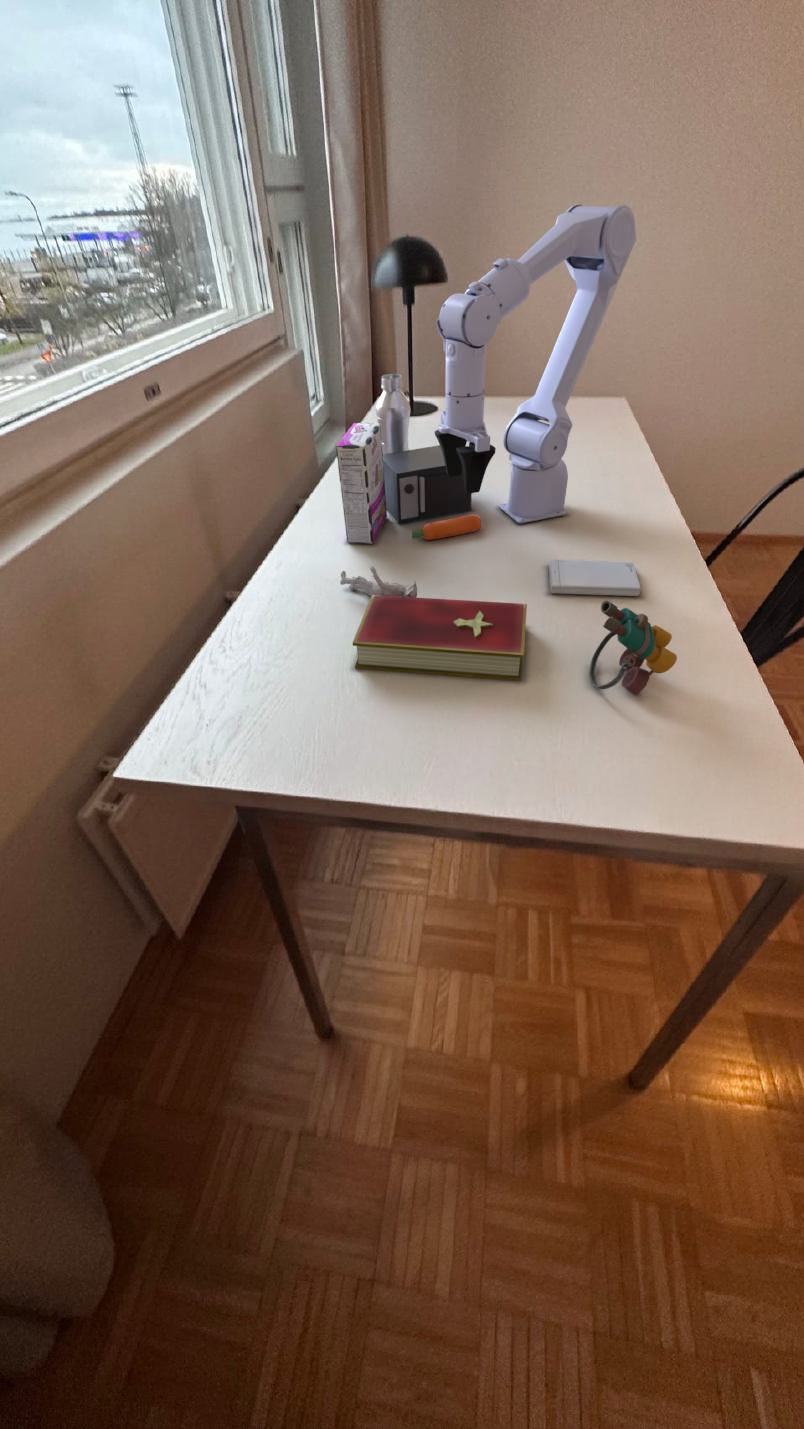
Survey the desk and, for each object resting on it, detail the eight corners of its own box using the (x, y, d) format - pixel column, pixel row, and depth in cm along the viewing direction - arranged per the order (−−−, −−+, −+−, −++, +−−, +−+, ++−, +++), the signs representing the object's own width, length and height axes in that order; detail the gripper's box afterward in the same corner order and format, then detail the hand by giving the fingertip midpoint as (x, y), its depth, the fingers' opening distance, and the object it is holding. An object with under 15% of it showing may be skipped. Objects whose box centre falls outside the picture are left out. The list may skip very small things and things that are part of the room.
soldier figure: (364, 583, 99) (431, 575, 93) (361, 613, 98) (428, 607, 92) (334, 566, 93) (403, 556, 86) (330, 598, 92) (400, 590, 85)
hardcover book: (374, 617, 90) (372, 591, 87) (524, 627, 86) (527, 600, 84) (355, 668, 81) (352, 641, 78) (521, 681, 78) (524, 653, 75)
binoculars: (620, 717, 75) (687, 664, 69) (560, 679, 73) (622, 621, 66) (615, 670, 82) (674, 617, 75) (559, 634, 80) (615, 577, 73)
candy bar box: (361, 516, 116) (353, 421, 105) (387, 517, 115) (382, 422, 104) (344, 543, 108) (334, 444, 97) (373, 545, 107) (365, 445, 96)
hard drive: (633, 560, 96) (550, 557, 97) (641, 588, 90) (552, 584, 91) (631, 570, 97) (548, 567, 99) (638, 598, 91) (550, 594, 92)
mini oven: (473, 512, 115) (474, 462, 109) (400, 526, 112) (398, 475, 106) (450, 491, 123) (450, 443, 117) (381, 503, 120) (378, 455, 114)
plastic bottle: (374, 492, 124) (367, 380, 111) (388, 479, 128) (382, 371, 115) (405, 496, 122) (401, 382, 109) (417, 483, 126) (415, 372, 113)
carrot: (477, 527, 111) (477, 511, 109) (484, 531, 108) (483, 515, 107) (410, 541, 108) (409, 524, 106) (416, 545, 106) (414, 528, 104)
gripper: (422, 383, 97) (424, 472, 106) (458, 408, 87) (457, 504, 95) (464, 377, 98) (463, 465, 107) (505, 401, 88) (499, 497, 97)
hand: (463, 483), depth 102 cm, fingers open, 7 cm apart
